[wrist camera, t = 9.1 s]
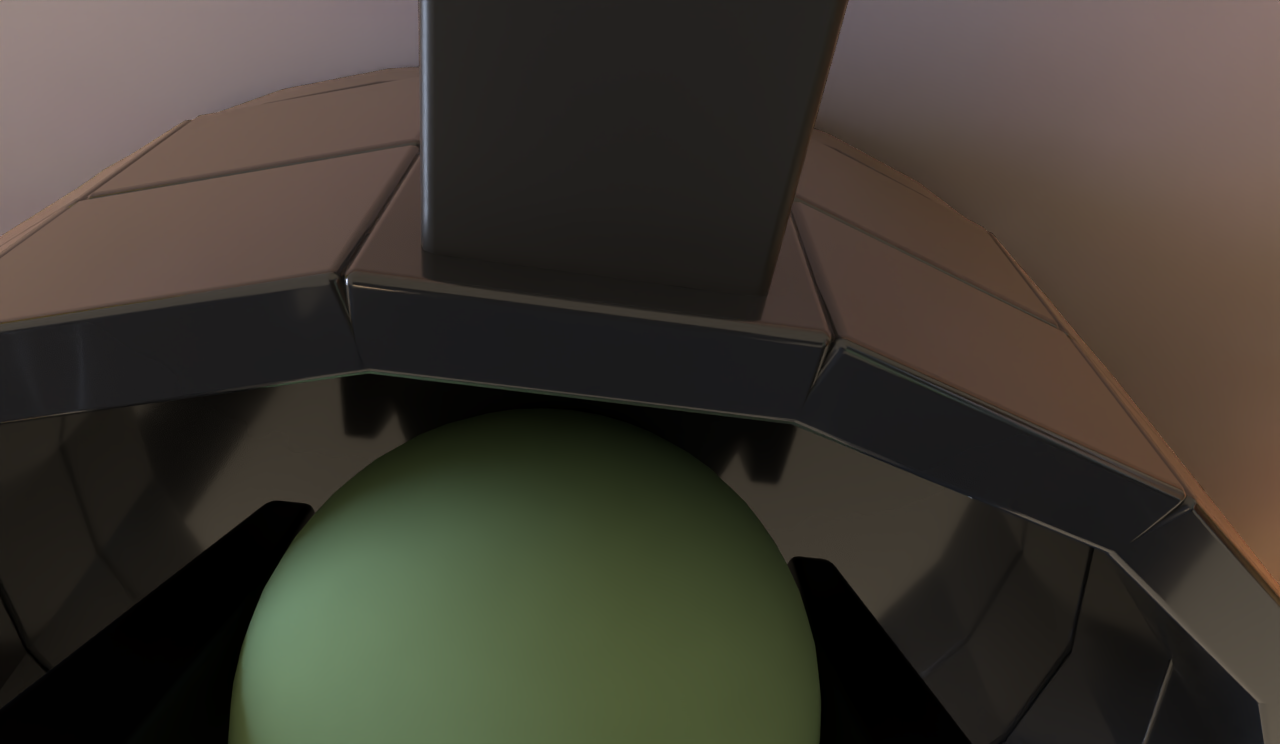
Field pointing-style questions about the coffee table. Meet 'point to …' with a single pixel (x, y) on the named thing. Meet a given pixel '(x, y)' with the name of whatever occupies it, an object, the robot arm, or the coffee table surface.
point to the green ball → (530, 600)
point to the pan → (615, 411)
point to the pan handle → (620, 133)
